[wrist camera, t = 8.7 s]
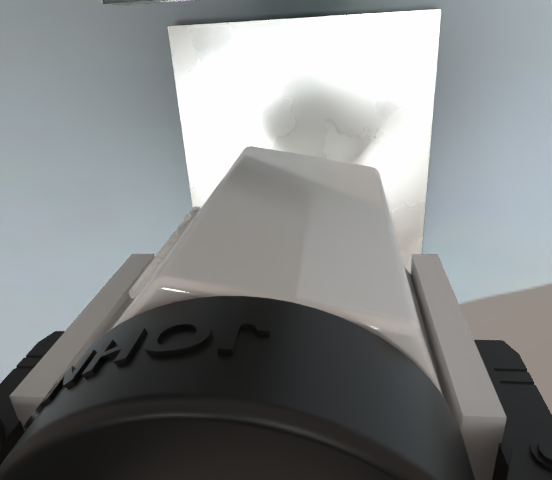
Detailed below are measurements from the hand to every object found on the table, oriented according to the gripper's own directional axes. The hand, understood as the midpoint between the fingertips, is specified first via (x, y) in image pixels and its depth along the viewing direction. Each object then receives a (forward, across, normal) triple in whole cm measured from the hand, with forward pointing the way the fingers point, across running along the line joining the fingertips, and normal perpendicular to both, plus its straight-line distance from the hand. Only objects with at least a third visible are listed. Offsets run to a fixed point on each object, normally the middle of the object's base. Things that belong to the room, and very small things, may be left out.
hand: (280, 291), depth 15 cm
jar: (+3, 0, 0) cm, 3 cm away
